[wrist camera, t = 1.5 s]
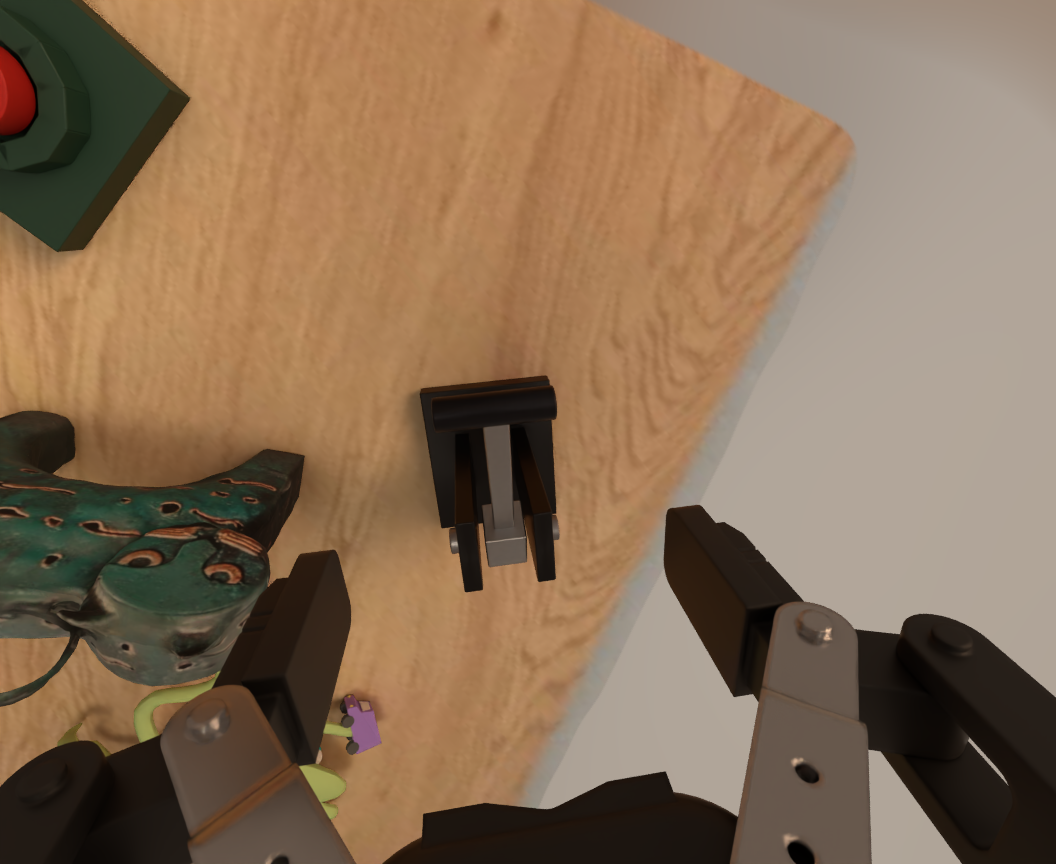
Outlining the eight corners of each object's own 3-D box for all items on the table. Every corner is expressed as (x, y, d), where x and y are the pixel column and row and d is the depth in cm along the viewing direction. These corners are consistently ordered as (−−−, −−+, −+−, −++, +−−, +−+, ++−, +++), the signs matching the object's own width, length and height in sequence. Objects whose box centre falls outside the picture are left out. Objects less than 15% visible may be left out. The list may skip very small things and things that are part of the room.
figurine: (167, 570, 39) (124, 624, 34) (430, 721, 49) (426, 780, 44) (35, 708, 42) (-23, 776, 37) (305, 823, 52) (289, 889, 47)
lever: (430, 382, 21) (431, 424, 19) (549, 370, 22) (559, 410, 20) (460, 534, 30) (463, 571, 29) (544, 523, 31) (551, 559, 29)
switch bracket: (420, 388, 36) (403, 471, 24) (546, 375, 37) (588, 449, 25) (441, 520, 40) (436, 644, 29) (553, 505, 41) (592, 621, 29)
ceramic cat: (332, 446, 37) (209, 674, 18) (320, 521, 39) (199, 792, 21) (6, 383, 32) (-577, 601, 14) (14, 471, 35) (-482, 759, 16)
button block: (-6, -80, 24) (-88, -132, 21) (190, 98, 28) (151, 81, 24) (-112, 106, 26) (-203, 88, 23) (83, 249, 30) (32, 254, 26)
